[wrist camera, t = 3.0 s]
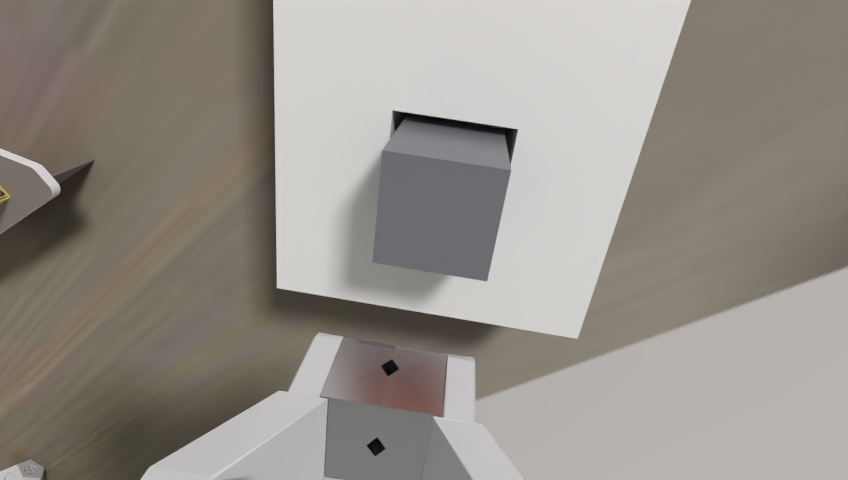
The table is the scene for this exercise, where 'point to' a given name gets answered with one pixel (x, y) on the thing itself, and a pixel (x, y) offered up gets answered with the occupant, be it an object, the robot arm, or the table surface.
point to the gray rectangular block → (441, 197)
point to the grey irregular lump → (23, 471)
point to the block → (473, 104)
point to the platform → (28, 186)
